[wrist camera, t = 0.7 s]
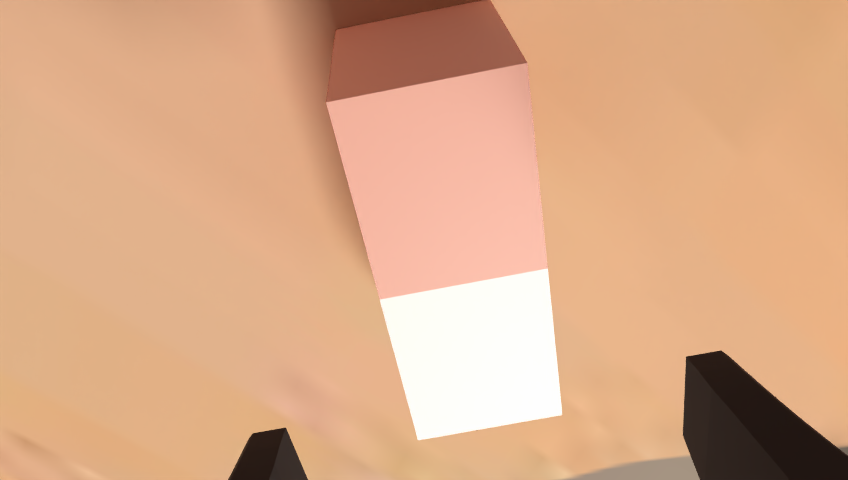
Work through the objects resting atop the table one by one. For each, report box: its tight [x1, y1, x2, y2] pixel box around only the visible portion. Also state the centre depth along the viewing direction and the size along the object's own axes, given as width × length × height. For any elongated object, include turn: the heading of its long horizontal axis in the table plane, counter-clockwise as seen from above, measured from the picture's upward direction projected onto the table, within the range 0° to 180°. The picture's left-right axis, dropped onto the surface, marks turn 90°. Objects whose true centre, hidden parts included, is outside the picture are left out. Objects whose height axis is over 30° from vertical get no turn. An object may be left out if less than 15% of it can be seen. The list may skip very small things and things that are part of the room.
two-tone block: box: [326, 0, 562, 440], centre depth 18 cm, size 4×10×5 cm, turn 10°
